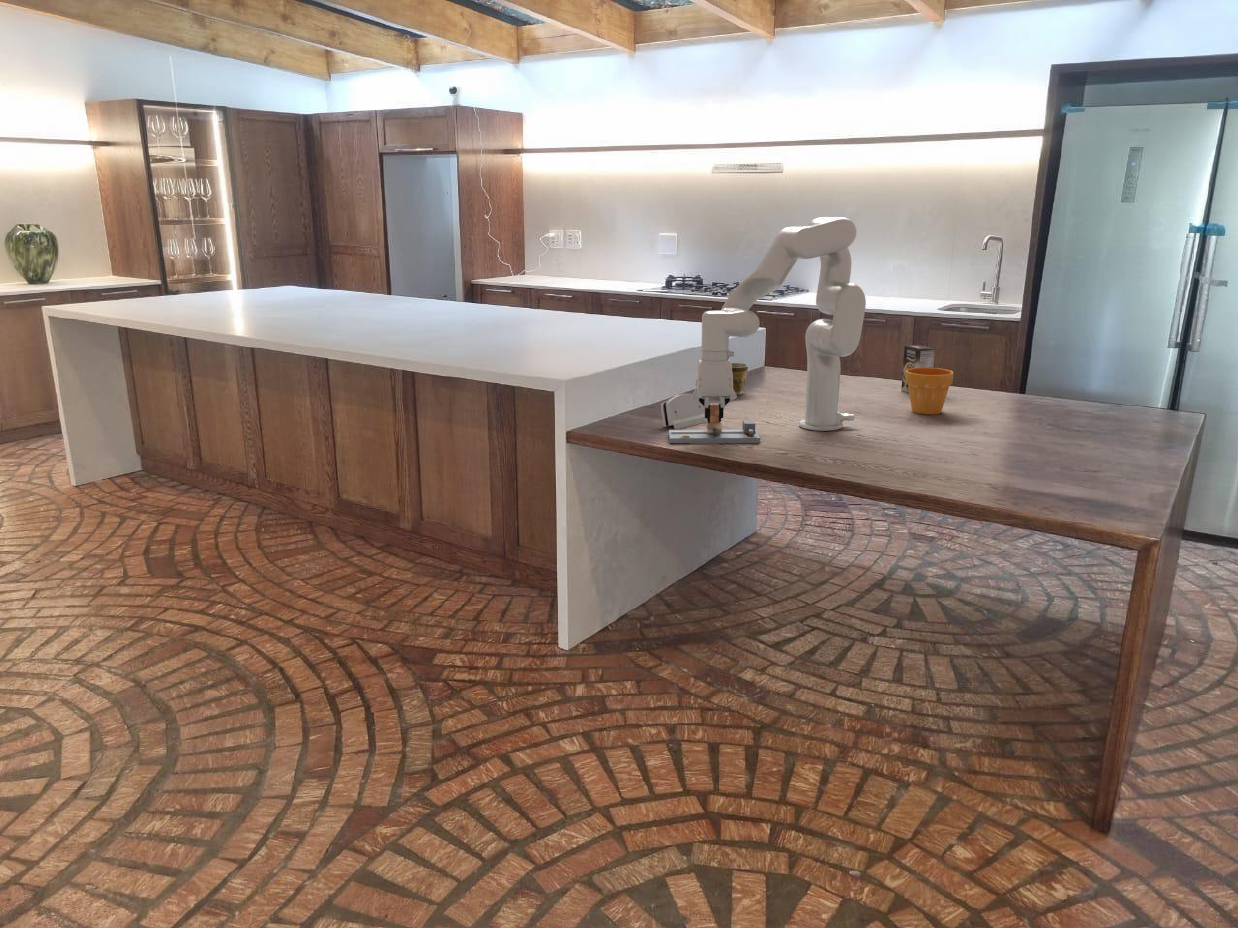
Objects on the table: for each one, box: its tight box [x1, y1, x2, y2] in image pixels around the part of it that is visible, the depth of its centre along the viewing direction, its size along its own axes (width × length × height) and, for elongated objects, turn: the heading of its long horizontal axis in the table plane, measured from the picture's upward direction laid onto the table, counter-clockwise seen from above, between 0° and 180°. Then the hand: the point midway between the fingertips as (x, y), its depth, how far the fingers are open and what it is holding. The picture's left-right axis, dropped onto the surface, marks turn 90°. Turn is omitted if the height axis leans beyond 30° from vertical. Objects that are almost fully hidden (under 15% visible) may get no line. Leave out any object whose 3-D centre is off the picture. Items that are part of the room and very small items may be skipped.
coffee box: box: [900, 344, 936, 394], centre depth 310 cm, size 9×6×16 cm
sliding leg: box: [705, 402, 723, 436], centre depth 250 cm, size 4×8×8 cm, turn 179°
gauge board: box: [668, 419, 761, 444], centre depth 251 cm, size 25×10×5 cm, turn 89°
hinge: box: [660, 393, 707, 430], centre depth 271 cm, size 17×5×10 cm, turn 133°
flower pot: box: [905, 367, 954, 415], centre depth 281 cm, size 14×14×13 cm
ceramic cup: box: [731, 362, 749, 396], centre depth 314 cm, size 13×10×10 cm
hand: (713, 420), depth 252 cm, fingers closed on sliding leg, 2 cm apart
